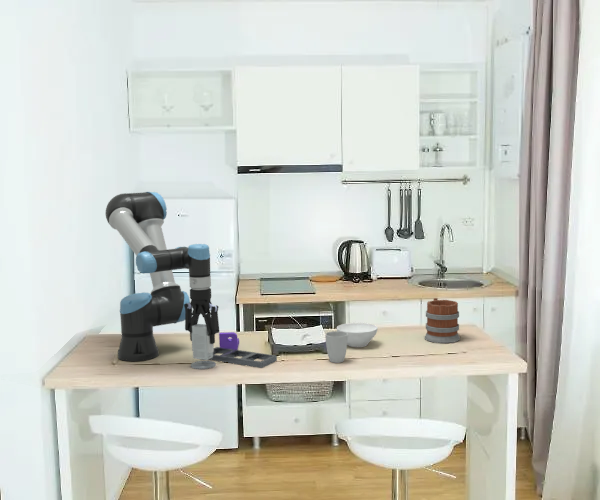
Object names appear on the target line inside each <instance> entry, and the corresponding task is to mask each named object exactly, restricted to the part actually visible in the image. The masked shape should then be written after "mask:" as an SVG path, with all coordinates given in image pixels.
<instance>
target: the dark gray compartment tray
mask: <svg viewBox="0 0 600 500" xmlns="http://www.w3.org/2000/svg"><path fill="white" fill-rule="evenodd" d="M241 356H242V357H241ZM277 359H278V358H277V355H276V354H267V353H262V352H261V353H260V352H256V351H254V352H253V351H247V350H239V349H238V350H235V349H228V348H221V347H220V346H215V347H214V352H213V357H212V358H210V359H208V360H207V361H213V362H220V361H222V363H226V362H228V363H229V364H233V363H234V365H239V364H241V365H240V366H245V365H247V366H246V367H252V366H253V368H258V369H263V368H265V367H267V366H269V365H271V364H274V363H275V361H276V362H277V361H278V360H277ZM259 360H261V361H259Z"/></svg>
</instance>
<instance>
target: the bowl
mask: <svg viewBox="0 0 600 500" xmlns="http://www.w3.org/2000/svg"><path fill="white" fill-rule="evenodd" d="M378 328H379V327H378V326H377V325H375V324H373V323H367V322H349V323H348V322H347V323H342V324H339V325H337V326H336V331H341V332H346V333H347V334H348V338H347V347H350V348H364V347H366V346H368V345H369V343H370V341H372V340H373V338H375V337H376V335H377V333H378Z"/></svg>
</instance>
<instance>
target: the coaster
mask: <svg viewBox="0 0 600 500" xmlns="http://www.w3.org/2000/svg"><path fill="white" fill-rule="evenodd" d="M216 366H217V363H216V361H214V360H197V361H194V362H192V363H190V368H191V369H194V370H208V369H213V368H215V367H216Z"/></svg>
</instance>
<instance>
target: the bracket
mask: <svg viewBox="0 0 600 500" xmlns="http://www.w3.org/2000/svg"><path fill="white" fill-rule="evenodd" d="M218 339H219V347H221V348H228V349H235V350H239V349H238V348H239V344H240V338H239V337H238V334H237V333H236V332H234V331H233V332H232V331H231V332H230V331H229V332H219V333H218Z"/></svg>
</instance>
